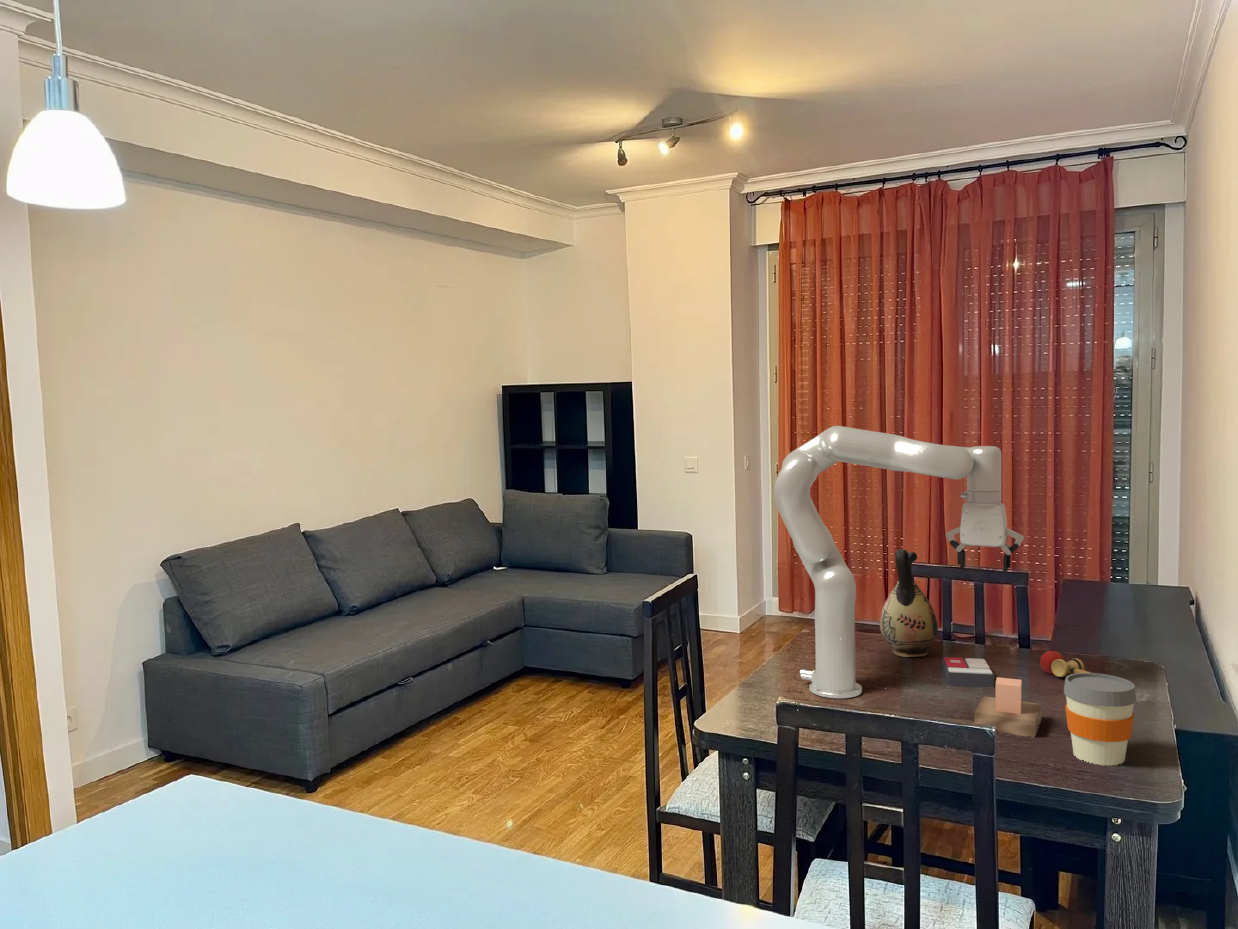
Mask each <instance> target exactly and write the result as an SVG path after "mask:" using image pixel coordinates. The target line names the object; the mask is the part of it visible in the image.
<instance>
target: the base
mask: <svg viewBox="0 0 1238 929" xmlns="http://www.w3.org/2000/svg"><path fill="white" fill-rule="evenodd" d="M1042 705H1043V704H1042V703H1037V702H1036V703H1035V702H1029V701H1022V700H1021V714H1017V713H1008V712H999V711H996V697H991V696H984V695H983V696H982V698H981V700H980V702H979V704H978V706H977V707H976V709H975V710H974V713H973V714H974V715H973V716H974V717H973V720H974V724H993V725H995V726H996V728H997V730H998V732H997V733H1000V734H1001V733H1003V734H1008V735H1014V736H1020V737H1021V736H1023V737H1027V736H1031V737H1030V738H1033V737H1035V736H1037V733H1038V731H1039V728H1040V726H1039V725H1041V722H1042V720H1043V719H1042V718H1043V717H1042V712H1043V711H1042V710H1043V706H1042ZM974 724H973V725H974ZM1035 738H1036V737H1035Z"/></svg>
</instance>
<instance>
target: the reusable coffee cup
mask: <svg viewBox="0 0 1238 929" xmlns="http://www.w3.org/2000/svg"><path fill="white" fill-rule="evenodd" d="M1063 686H1064V688H1063V694H1064V695H1065V698H1066V703H1065V706H1064V708H1065V716H1066V723H1067V724H1066V725H1067V730H1068V731H1069V732H1070V737H1071V745H1072V751H1073V752H1072V754H1073V756H1074V757H1075V756H1076V757H1075V758H1077V759H1078V760H1080V761H1082V760H1084V761H1083V762H1085V761H1086V762H1085V763H1088V762H1089V763H1088V764H1092V763H1093V764H1092V765H1097V764H1098V766H1105V765H1106V766H1107V767H1108V766H1109V765H1110V767H1111V766H1113V765H1114V766H1118V764H1120V765H1122V764H1124V763H1125V761H1126V754H1127V747H1128V744H1129V743H1128V742H1129V739H1131V738H1132V732H1133V726H1134V722H1135V713H1134V711H1133V710H1134V706H1135V703H1136V702H1137V693H1136V686H1135V683H1133V682H1132V681H1131V680H1128V679H1125V678H1123V677H1119V676H1115V675H1110V674H1105V673H1098V672H1096V673H1095V672H1090V673H1076V674H1071V675H1069V674H1067V675H1066V676H1065V679H1064V685H1063ZM1123 762H1124V763H1123ZM1121 763H1122V764H1121Z"/></svg>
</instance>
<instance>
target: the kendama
mask: <svg viewBox="0 0 1238 929" xmlns="http://www.w3.org/2000/svg"><path fill="white" fill-rule="evenodd" d="M1039 665H1040V668H1041V670H1042V671H1044V672H1045V673H1046V674H1048V675H1053V676H1056V677H1058V678H1063V677H1067V676H1068V675H1071V674H1076V673H1091V671H1087V670H1085V668H1086V666H1085V664H1084V662H1083V661H1082V660H1081V659H1079V658H1075V657H1072V658H1068V659H1067V661H1066V659H1065V657H1064V656H1063V655H1062V654H1061V653H1060V652H1059V651H1057V650H1056V651H1055V650H1049V651H1045V652H1044V653H1043V654H1042V655H1041V657H1040V659H1039Z"/></svg>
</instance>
